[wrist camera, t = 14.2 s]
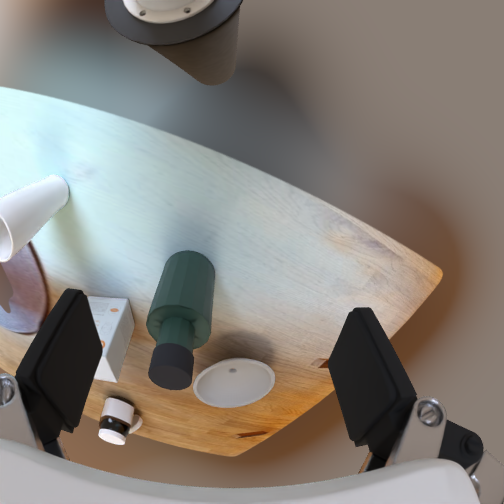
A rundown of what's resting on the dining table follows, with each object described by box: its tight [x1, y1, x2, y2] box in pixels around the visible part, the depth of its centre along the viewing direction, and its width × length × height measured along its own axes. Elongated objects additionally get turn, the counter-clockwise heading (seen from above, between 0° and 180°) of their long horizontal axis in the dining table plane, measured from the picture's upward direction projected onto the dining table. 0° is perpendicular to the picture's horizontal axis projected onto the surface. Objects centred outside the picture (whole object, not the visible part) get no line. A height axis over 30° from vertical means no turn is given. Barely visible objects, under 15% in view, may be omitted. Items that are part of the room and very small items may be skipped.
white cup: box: [0, 175, 69, 262], centre depth 27 cm, size 7×7×15 cm
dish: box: [193, 358, 275, 408], centre depth 51 cm, size 18×14×5 cm
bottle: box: [146, 251, 215, 353], centre depth 34 cm, size 8×8×16 cm
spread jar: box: [98, 396, 142, 445], centre depth 55 cm, size 12×11×12 cm
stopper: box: [148, 343, 194, 390], centre depth 28 cm, size 4×4×7 cm
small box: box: [88, 296, 135, 383], centre depth 39 cm, size 8×6×13 cm
